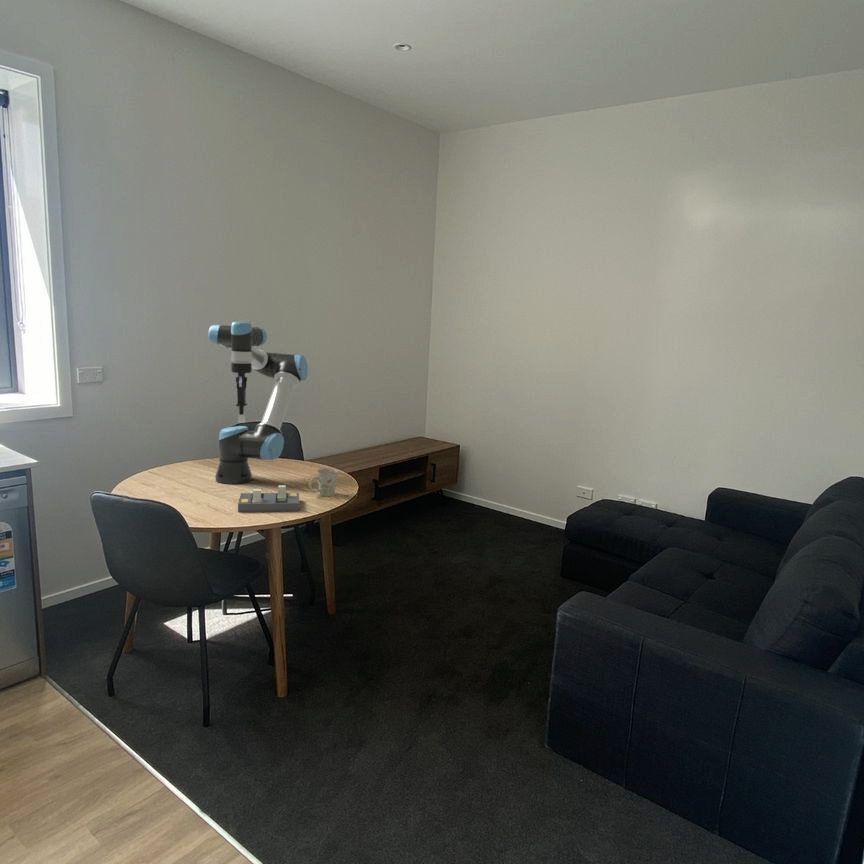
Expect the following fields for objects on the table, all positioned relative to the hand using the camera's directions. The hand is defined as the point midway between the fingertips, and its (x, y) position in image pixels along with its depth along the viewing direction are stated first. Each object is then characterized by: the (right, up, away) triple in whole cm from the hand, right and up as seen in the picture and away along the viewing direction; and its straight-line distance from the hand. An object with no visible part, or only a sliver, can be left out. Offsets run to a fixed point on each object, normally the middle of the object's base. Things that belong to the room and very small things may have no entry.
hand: (241, 422), depth 242 cm
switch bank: (+13, -32, -7) cm, 35 cm away
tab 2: (+17, -30, -4) cm, 35 cm away
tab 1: (+9, -31, -11) cm, 34 cm away
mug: (+30, -30, +10) cm, 44 cm away
